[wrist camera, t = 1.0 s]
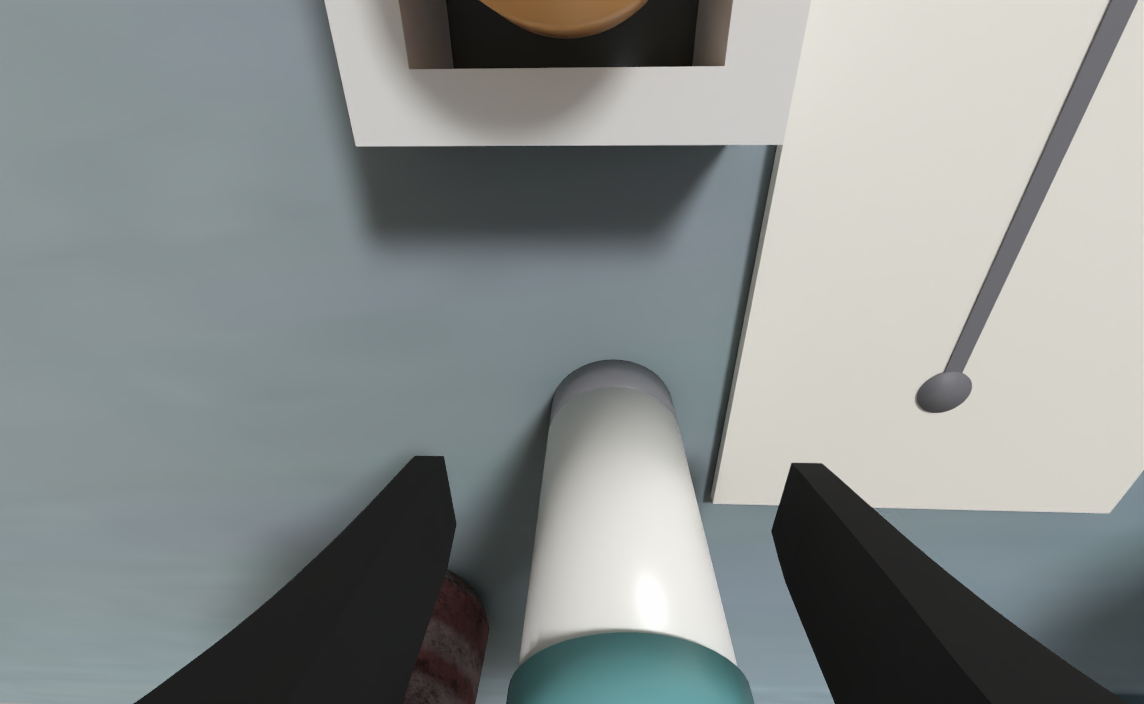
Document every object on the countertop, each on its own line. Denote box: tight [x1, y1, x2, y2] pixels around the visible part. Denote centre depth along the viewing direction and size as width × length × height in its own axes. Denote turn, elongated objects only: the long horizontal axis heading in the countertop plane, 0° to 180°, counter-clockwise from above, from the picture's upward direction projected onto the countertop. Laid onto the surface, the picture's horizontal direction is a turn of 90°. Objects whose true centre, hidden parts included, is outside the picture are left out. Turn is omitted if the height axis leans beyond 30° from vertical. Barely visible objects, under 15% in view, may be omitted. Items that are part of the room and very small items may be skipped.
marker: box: [506, 360, 754, 704], centre depth 9 cm, size 3×3×8 cm
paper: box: [711, 0, 1144, 513], centre depth 9 cm, size 11×18×1 cm, turn 0°
